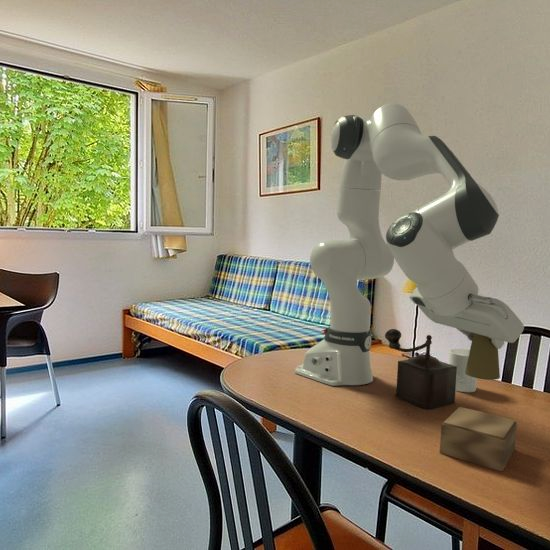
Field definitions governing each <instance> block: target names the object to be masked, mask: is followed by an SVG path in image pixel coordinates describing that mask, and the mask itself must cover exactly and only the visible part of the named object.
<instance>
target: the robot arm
mask: <svg viewBox="0 0 550 550" xmlns="http://www.w3.org/2000/svg"><path fill="white" fill-rule="evenodd" d="M330 142H331V143H330V144H331V150H332V152H333V153H334V156H336V157H338V158H341V159H344V162H343V166H342V169H341V175H340V181H339V188H338V197H337V198H338V199H337V200H338V202H337V211H336V212H337V213H336V214H337V218H338V219H339V221H340V222H341V223H342V224H344V225H345V226H346V227H347V229H348V231H349V239H332V240H326V241H322V242H319V243H317V244H316V245H314V247H313V249H312V250H311V253H310V256H309V257H310V258H309V264H310V268H311V270H312V272H313V274H314V275H315V276H316V278H317V277H318V279H320V281H321V282H322V283H323V285H324V286H325V289H326V290H327V294H328V298H329V306H330V308H329V309H330V314H329V315H330V317H329V318H330V320H329V321H330V322H329V324H330V325H329V326H328V327H326V328H325V329H323V330H321V335H324V338H323V339H321V340H320V341H319V342H317V343H316V344H315V345H313V346H312V347H310V348H308V350H307V351H306V352H305V354H304V357H303V362H302V364H300V365H297V366H296V367H295V369H294V374H297V375H298V376H299V375H300V376H302V377H306V378H309V379H310V380H313V381H318V382H319V383H323V384H326V385H328V386H333V387H335V386H361V385H363V386H364V385H366V384H370V383H372V382H373V381H374V375H373V373H372V367H371V356H370V350H371V345H372V330H371V328H370V327H371V311H372V310H371V309H372V306H371V305H372V304H371V302H370V300H369V299H368V297H367V296H365V295H364V294H362V293H361V292H360V290H359V288H358V287H359V286H358V280H373V279H378V278H381V277H384V276H387V275H388V274H390V273H391V271H392V269H393V267H394V265H395V261H396V263H397V265H398V267H399V269H401V270H402V272H403V273H404V275H405V276H406V278H407V279H409V281H411V282H412V283H414V284H415V286H416V287H415V288H414V290H413V291H412V292H411V294H410V295H409V300H410V301H411V302H412V303H413V304H414V305H417V307H418V308H419V309H420V311H421V312H422V313H423V314H424V315H425V316H426V317H427V318H428V319H429V320H431V322H434V323H435V324H440V325H443V326H446V327H450V328H454V329H456V330H457V331H459V332H460V333H462V334H463V335H465V336H466V337H467V339H468V340H469V341H471V342H472V338H473V333H476V334H479V335H483V336H487V337H489V338H491V339H490V341H489V343H490V344H491V345H492V346H493V347H495V348H498V350H500V349H501V348H502V347H504V344H505V342H506V343H510V344H513V343H515V342H516V341H517V339H518V338H519V337H520V336H521V335H522V333H523V331H524V329H525V325H524V324H523V322H522V321H521V319H520V318H519V317H518V315H516V313H515V312H514V311H513V310H512V308H510V307H509V305H507V304H506V303H505V302H504V301H502V300H500V299H497V298H495V297H494V298H493V297H491V296H484V295H479V287H478V283H476V281H475V279H474V278H473V277H472V275H471V274H470V273H469V271H468V269H467V268H466V267H465V265H464V264H463V263H462V262H461V261H459V260H458V259H457V258H456V257H455V254H454V251H453V250H455V249H456V248H458V247H460V246H462V245H465V244H467V243H468V242H473V241H475V240H477V239H481V238H483V237H486V236H488V235H490V234H492V232H493V230H494V229H495V226H496V224H497V222H498V220H499V218H500V217H499V216H500V215H499V210H498V207H497V204H496V202H495V200H494V199H493V196H491V194H490V193H489V192H488V191H487V189H486V188H484V187H483V186H482V185H480V184H479V183H478V182H477V181H475V179H474V178H473V177H472V176H471V174H470V173H469V171H468V170H467V169H466V167H465V166H464V165H463V163H462V162H461V161H460V160H459V159H458V157H457V155H455V154H454V152H453V151H452V150H451V149H450V148H449V147H448V146H447V145H446V143H445V142H444V141H443V139H441V138H439V137H438V136H436V135H423V134H422V133H421V130H420V128H419V126H418V123H417V122H416V120H415V118H414V117H413V115H412V114H411V113H410V111H409V110H408V109H407V108H406V107H405V106H404V105H401V104H399V103H395V102H394V103H393V102H392V103H385V104H383V105H381V106H379V107H378V108H377V109H376V110H375V111H374V112H372V115H355V114H348V115H343V116H340V117H339V118H338V119H337V120H336V121H335V122H334V125H333V128H332V131H331V134H330ZM432 174H440V175H441V176H443V178H444V180H445V181H446V182H447V183H448V185H449V186H450V188H449V189H448V191H446V192H445V193H443V194H442V195H440V196H438V197H436V198H435V199H433V200H431V201H430V202H427V203H426V204H424V205H422V206H420V207H418V208H416V209H414V210H412V211H410V212H408V213H405V214H402V215H401V216H398V217H397V219H395V220H394V221H393V222H392V223H391V225H389V227H388V228H387V230H386V234H385V239H384V236H383V235H382V231H381V228H380V221H379V219H380V218H379V216H380V215H379V214H380V202H381V201H380V200H381V189H382V175H383V176H385V177H386V178H388V179H391V180H397V181H410V180H413V179H417V178H420V177H423V176H427V175H432Z"/></svg>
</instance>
